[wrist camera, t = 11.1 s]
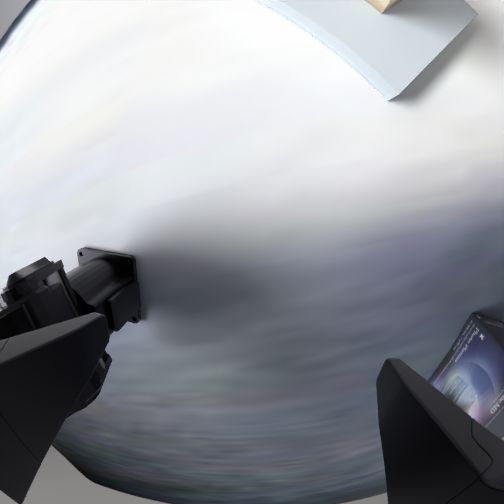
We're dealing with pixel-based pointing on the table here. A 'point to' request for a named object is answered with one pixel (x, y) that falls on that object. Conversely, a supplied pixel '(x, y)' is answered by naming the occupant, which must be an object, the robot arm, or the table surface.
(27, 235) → the table surface
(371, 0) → the birch block
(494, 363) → the small box
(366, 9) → the grey-blue block
